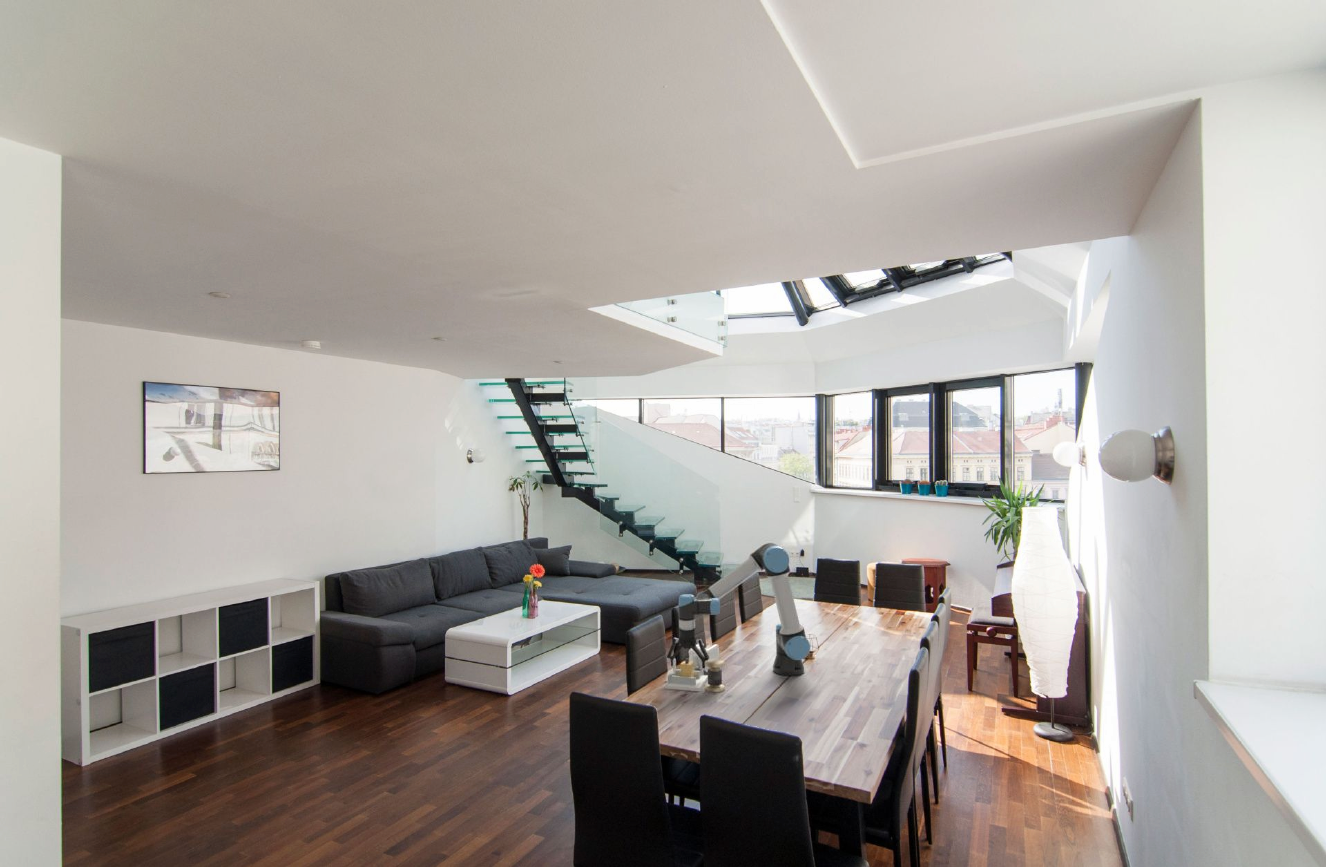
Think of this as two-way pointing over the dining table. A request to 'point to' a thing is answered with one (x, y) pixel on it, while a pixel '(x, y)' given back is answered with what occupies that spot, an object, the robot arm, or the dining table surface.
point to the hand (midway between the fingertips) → (688, 674)
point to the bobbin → (714, 676)
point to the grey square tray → (686, 681)
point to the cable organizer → (712, 653)
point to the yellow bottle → (687, 668)
